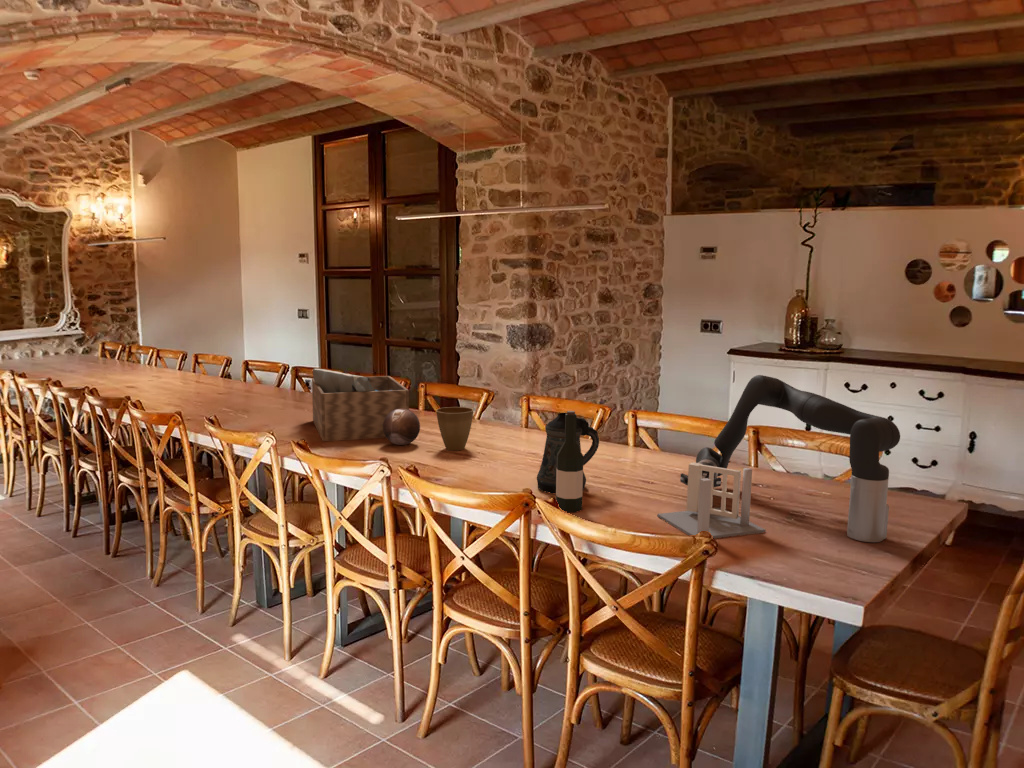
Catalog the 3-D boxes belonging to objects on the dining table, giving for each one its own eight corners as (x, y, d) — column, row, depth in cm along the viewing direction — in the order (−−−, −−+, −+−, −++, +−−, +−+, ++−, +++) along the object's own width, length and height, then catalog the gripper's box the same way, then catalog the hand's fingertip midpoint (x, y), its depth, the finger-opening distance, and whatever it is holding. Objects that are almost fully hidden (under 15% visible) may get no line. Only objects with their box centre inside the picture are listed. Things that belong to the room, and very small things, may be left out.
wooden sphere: (380, 448, 313) (380, 411, 310) (386, 440, 328) (385, 405, 325) (418, 449, 313) (417, 412, 311) (422, 440, 328) (421, 405, 325)
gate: (739, 517, 225) (741, 470, 222) (735, 520, 222) (738, 472, 220) (690, 508, 233) (692, 462, 231) (686, 510, 231) (688, 464, 229)
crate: (390, 416, 379) (389, 375, 376) (409, 436, 336) (408, 390, 334) (313, 420, 367) (311, 378, 364) (322, 441, 325) (321, 393, 322)
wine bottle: (578, 513, 233) (580, 414, 228) (551, 510, 236) (553, 412, 231) (585, 506, 240) (588, 410, 236) (559, 503, 243) (561, 408, 239)
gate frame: (721, 509, 238) (724, 455, 236) (765, 532, 218) (769, 473, 216) (657, 516, 231) (659, 460, 229) (697, 540, 211) (700, 479, 209)
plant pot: (477, 445, 320) (477, 407, 317) (467, 454, 305) (467, 413, 303) (442, 443, 323) (442, 405, 321) (431, 451, 309) (431, 411, 306)
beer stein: (527, 484, 264) (528, 411, 260) (575, 477, 273) (576, 407, 269) (553, 497, 249) (555, 420, 246) (603, 489, 259) (605, 415, 255)
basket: (418, 428, 349) (416, 366, 346) (361, 438, 327) (358, 372, 324) (364, 420, 377) (361, 363, 373) (308, 429, 354) (305, 368, 351)
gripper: (684, 459, 250) (674, 472, 234) (726, 463, 245) (719, 477, 229) (683, 482, 251) (673, 496, 235) (725, 487, 246) (718, 501, 230)
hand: (696, 487), depth 232 cm, fingers closed
